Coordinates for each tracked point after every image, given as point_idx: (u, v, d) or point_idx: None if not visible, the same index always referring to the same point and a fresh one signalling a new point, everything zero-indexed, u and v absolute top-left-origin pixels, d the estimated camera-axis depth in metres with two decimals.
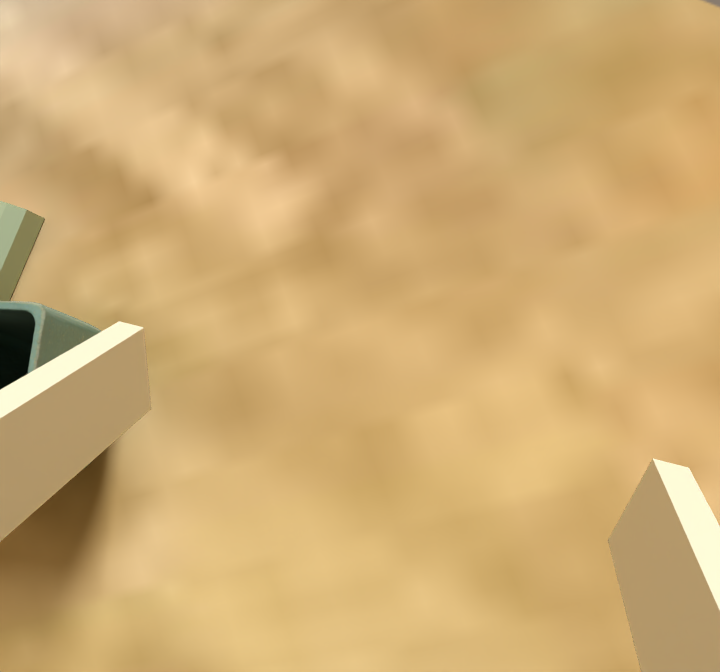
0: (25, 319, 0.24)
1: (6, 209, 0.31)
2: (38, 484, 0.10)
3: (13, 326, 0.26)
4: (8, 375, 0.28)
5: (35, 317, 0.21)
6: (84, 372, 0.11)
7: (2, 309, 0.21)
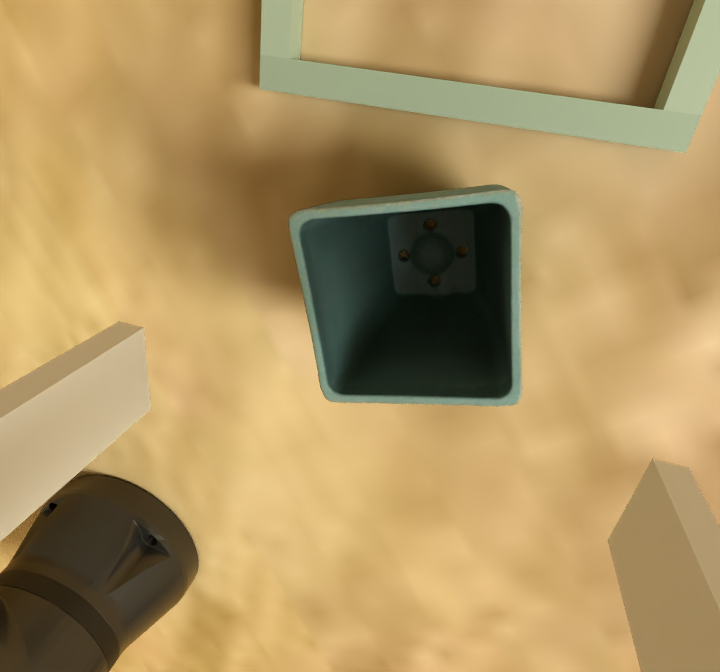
0: (506, 324, 0.21)
1: (689, 113, 0.20)
2: (38, 484, 0.10)
3: (501, 248, 0.22)
4: None
5: (504, 398, 0.20)
6: (84, 372, 0.11)
7: (511, 360, 0.19)
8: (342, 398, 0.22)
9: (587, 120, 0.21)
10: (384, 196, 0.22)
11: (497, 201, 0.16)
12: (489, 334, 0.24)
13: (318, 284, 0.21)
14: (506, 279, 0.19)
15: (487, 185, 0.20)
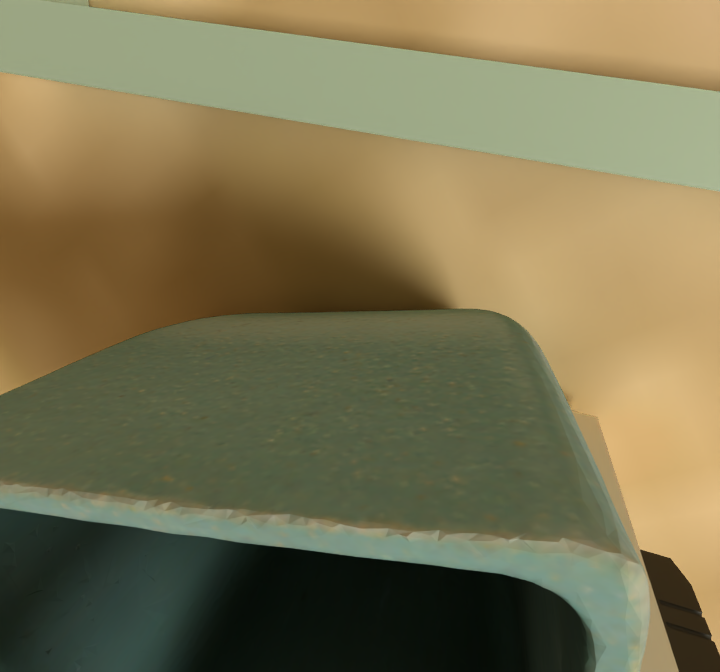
0: None
1: None
2: None
3: None
4: None
5: None
6: None
7: None
8: None
9: None
10: (236, 332, 0.09)
11: (533, 581, 0.03)
12: (490, 600, 0.11)
13: (31, 590, 0.08)
14: (543, 644, 0.06)
15: (488, 345, 0.07)
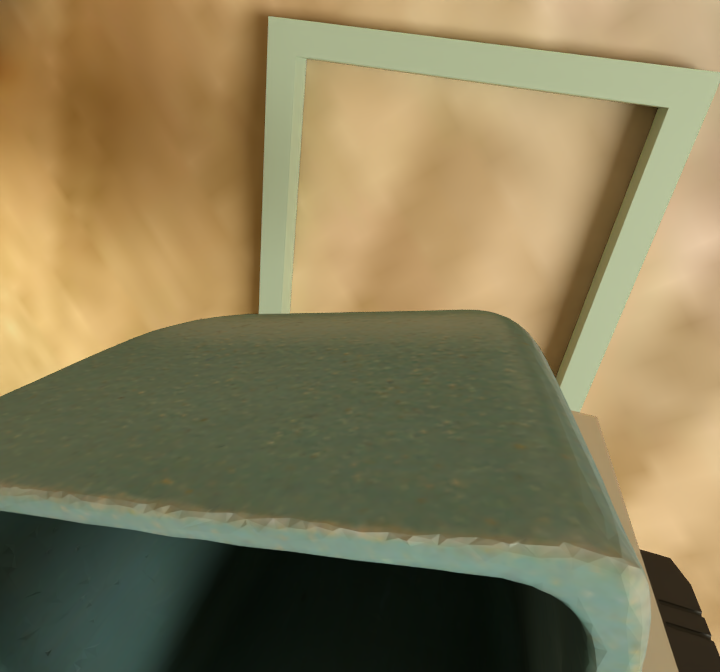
0: None
1: None
2: None
3: None
4: None
5: None
6: None
7: None
8: None
9: None
10: (236, 333, 0.09)
11: (534, 585, 0.03)
12: (491, 601, 0.11)
13: (31, 592, 0.08)
14: (543, 646, 0.06)
15: (489, 347, 0.07)
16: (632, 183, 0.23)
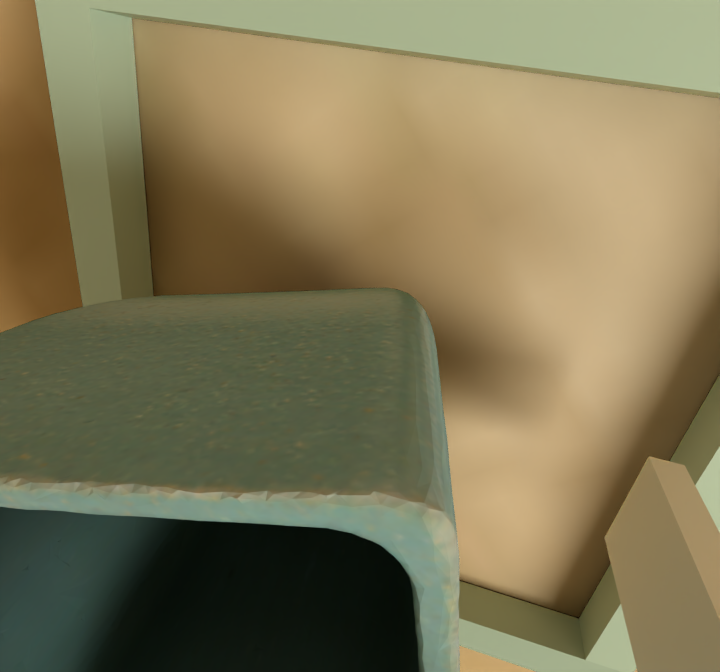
0: None
1: (617, 667, 0.16)
2: None
3: None
4: None
5: None
6: None
7: None
8: None
9: (496, 645, 0.17)
10: (139, 313, 0.09)
11: (353, 532, 0.04)
12: None
13: None
14: None
15: (375, 321, 0.07)
16: None
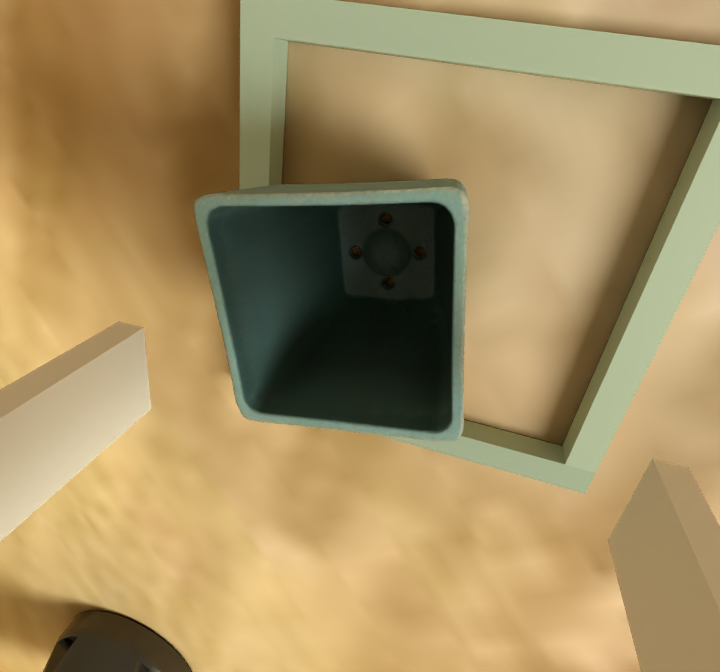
0: None
1: (586, 469, 0.24)
2: (38, 484, 0.10)
3: None
4: None
5: (442, 433, 0.17)
6: (84, 372, 0.11)
7: (452, 391, 0.16)
8: (260, 417, 0.19)
9: (505, 460, 0.25)
10: None
11: (439, 201, 0.13)
12: (441, 350, 0.21)
13: (235, 283, 0.17)
14: None
15: (440, 179, 0.17)
16: (677, 191, 0.19)
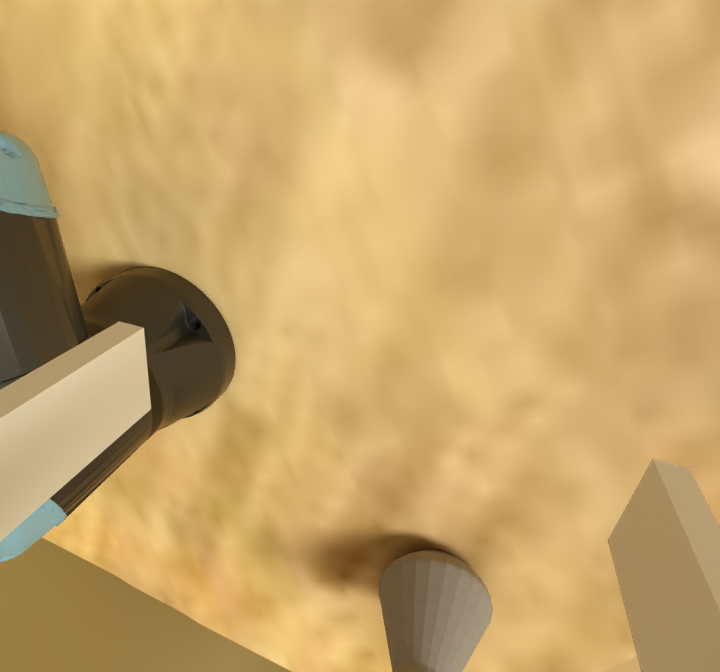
0: None
1: None
2: (38, 484, 0.10)
3: None
4: None
5: None
6: (85, 372, 0.11)
7: None
8: None
9: None
10: None
11: None
12: None
13: None
14: None
15: None
16: None
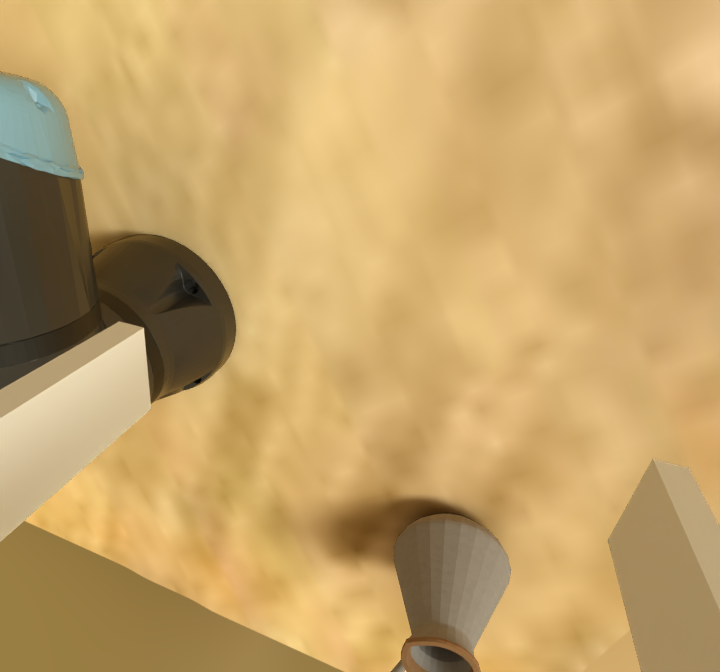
0: None
1: None
2: (38, 484, 0.10)
3: None
4: None
5: None
6: (85, 372, 0.11)
7: None
8: None
9: None
10: None
11: None
12: None
13: None
14: None
15: None
16: None
